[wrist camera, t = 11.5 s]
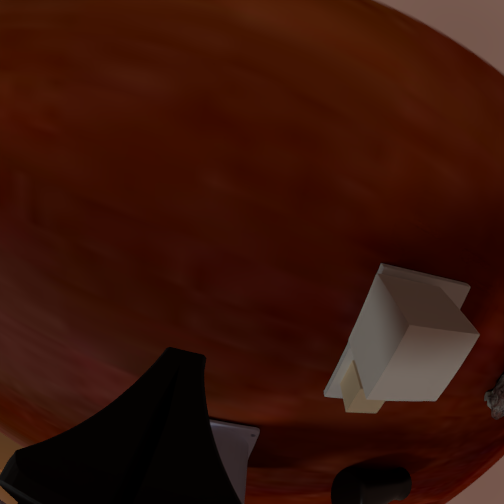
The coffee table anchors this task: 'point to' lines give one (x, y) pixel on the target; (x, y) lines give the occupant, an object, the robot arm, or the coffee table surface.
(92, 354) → the coffee table surface
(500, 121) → the coffee table surface
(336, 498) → the coffee pot
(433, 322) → the beige block
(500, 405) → the mineral rock
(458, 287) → the grey board
